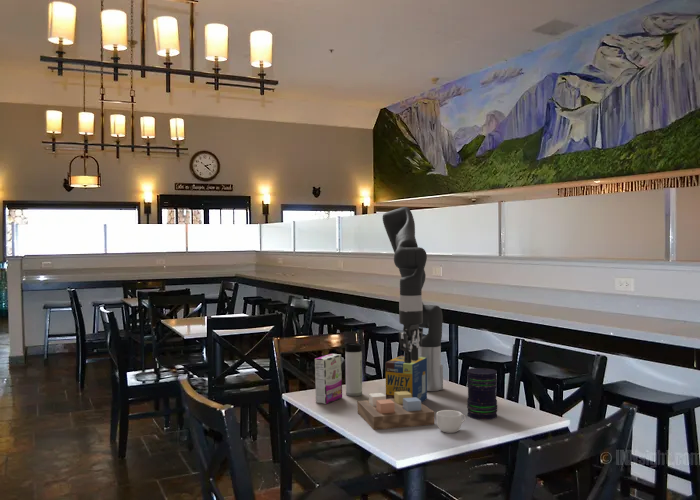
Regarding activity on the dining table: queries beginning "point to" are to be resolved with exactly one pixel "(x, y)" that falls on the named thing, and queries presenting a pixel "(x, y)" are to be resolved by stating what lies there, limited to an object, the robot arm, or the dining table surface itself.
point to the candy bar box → (328, 378)
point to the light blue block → (411, 404)
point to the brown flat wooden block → (395, 416)
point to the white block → (376, 398)
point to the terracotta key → (385, 406)
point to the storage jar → (482, 393)
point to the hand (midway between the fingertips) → (411, 361)
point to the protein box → (407, 377)
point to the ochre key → (401, 396)
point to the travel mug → (353, 369)
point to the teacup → (449, 420)
